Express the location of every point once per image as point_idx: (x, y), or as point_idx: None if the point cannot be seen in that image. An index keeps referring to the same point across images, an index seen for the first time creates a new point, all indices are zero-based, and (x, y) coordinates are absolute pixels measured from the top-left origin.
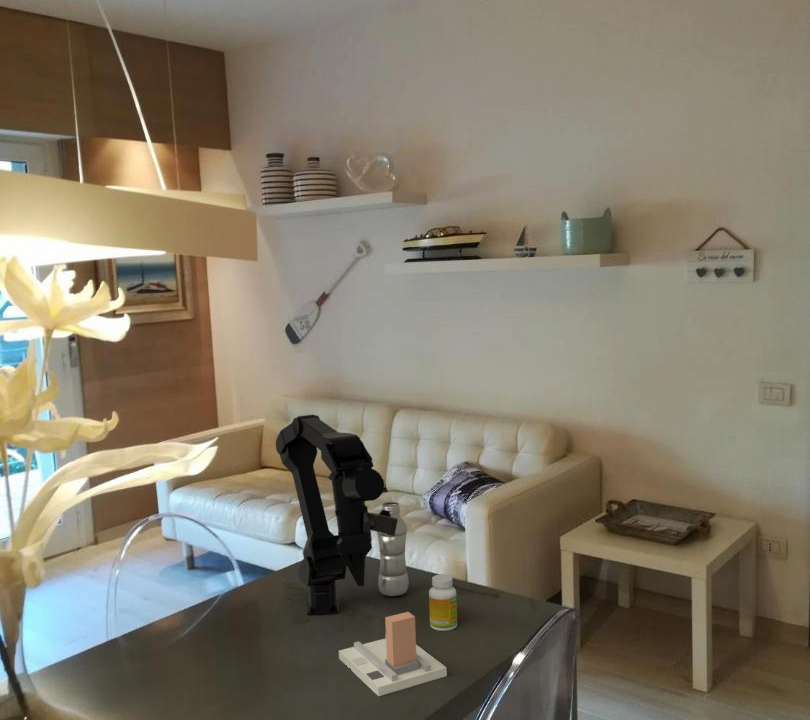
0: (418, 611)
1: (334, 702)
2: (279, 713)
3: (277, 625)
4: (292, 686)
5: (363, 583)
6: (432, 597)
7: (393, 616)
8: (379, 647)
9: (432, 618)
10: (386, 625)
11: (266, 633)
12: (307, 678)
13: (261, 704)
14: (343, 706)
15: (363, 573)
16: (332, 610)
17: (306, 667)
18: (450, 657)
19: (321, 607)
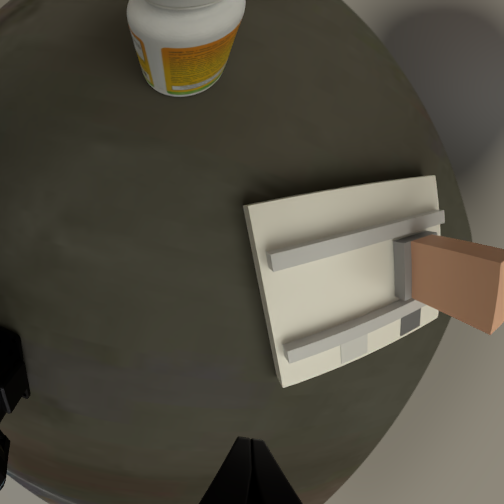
0: (57, 109)
1: (407, 374)
2: (388, 429)
3: (78, 447)
4: (338, 433)
5: (266, 448)
6: (205, 43)
7: (497, 312)
8: (309, 294)
9: (196, 82)
10: (477, 325)
11: (113, 465)
12: (326, 419)
13: (359, 451)
14: (420, 361)
15: (292, 494)
16: (14, 348)
17: (286, 426)
18: (365, 127)
19: (22, 382)
